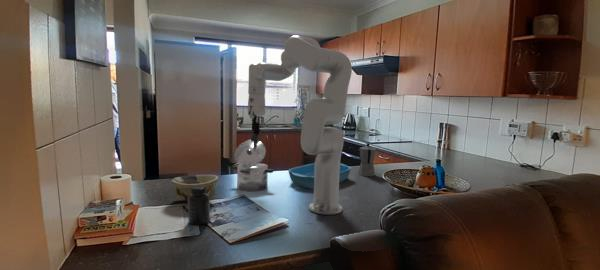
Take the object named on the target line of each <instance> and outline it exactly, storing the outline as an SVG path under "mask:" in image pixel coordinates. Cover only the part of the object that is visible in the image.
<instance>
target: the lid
mask: <svg viewBox="0 0 600 270" xmlns="http://www.w3.org/2000/svg"><path fill="white" fill-rule="evenodd" d="M261 133H262V130H261V129H260V130H259V131H253V133H252V135H251V137H250V139H247V140H245V141H243V142H242V143H240V144H239V145H238V146H237V148H236V149H235V151H234V154H233V155H234V157H233V158H234V162H235V163H236V164H237V166H238V165H239V166H241V167H244V168H250V167H254V166H256V165H258V164H259V163H261V162H262V161H263V160H264V158H265V157H266V155H267V154H266V152H267V150H266V146H265V144H264V143H263V142H262V141H260V140H259V139H260V137H261Z"/></svg>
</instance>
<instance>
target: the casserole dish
mask: <svg viewBox="0 0 600 270" xmlns="http://www.w3.org/2000/svg"><path fill="white" fill-rule="evenodd" d="M314 170H315V162H314V163H309V164H303V165H300V166H296V167H292V168H289V169H288V174H289V177H290V181H291V182H292V183H293V184H294V185H296V186H299V187H300V186H301V187H303V188H308V189H313V190H314ZM351 170H352V167H351V166H349V165H346V164H344V163H340V175H339V183H342V182H344V181H346V180H347V179H348V177H349V175H350V173H351Z"/></svg>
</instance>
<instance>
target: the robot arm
mask: <svg viewBox="0 0 600 270" xmlns="http://www.w3.org/2000/svg"><path fill="white" fill-rule="evenodd" d="M280 61H281V63H269V62H259V63H251V64H249V66H248V85H247V86H248V92H247V93H248V100H247V115H248V116H249V119H250V120H251V131H253V132H254V131H259V130H261V129H260V125H261V124H260V123H261V118H263V117H264V116H265V115H266V98H265V97H266V96H265V94H266V91H265V90H266V81H273V82H280V81H283V80H287V79H288V78H290V77H291V76H293V75H294V73H295V71H296V69H297V68H299V67H303V68H304V69H306V70H308V71H310V72H315V73H323V74H324V73H326V74H327V73H328V74H329V77H328V78H327V80H326V82H325V84H324V88H323V95H322V97H315V98H312V99H311V100H309V102H307V104H306V105H305V108H304V111H303V117H302V124H301V132H300V146H301V149H302V151H303V153H305V154H306V155H310V156H316V158H315V161H314V163H315V170H314V189H313V199H312V200H313V202H311V203H309V206H308V208H309V210H310V211H311V212H312V213H316V214H319V215H323V216H324V215H328V216H331V215H337V214H340V213H342V211H343V206H342V205H341V204H340V203H339V194H340V182H339V175H340V164H341V160H342V159H341V157H342V153H343V148H344V141H345V140H344V134H343V133H342V131H341V130H340V129H338V128H336V127H333V126H327V125H336V124H339V123H341V122H342V121H343V120H344V115H345V111H346V110H345V109H346V105H347V98H348V91H349V86H350V80H351V78H352V69H353V68H352V63H351V60H350V58H349V57H348V55H346V54H345V53H343V52H342V51H339V50H336V49H330V48H324V47H321V45H320V44H319V42H318V41H317V40H316V39H314V38H310V37H306V36H303V35H302V36H301V35H297V34H296V35H292V36H290V37H288V39H287V40H286V41H285V44H284V50H283V51H282V53H281V54H280ZM262 116H263V117H262ZM325 125H326V126H325Z"/></svg>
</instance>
